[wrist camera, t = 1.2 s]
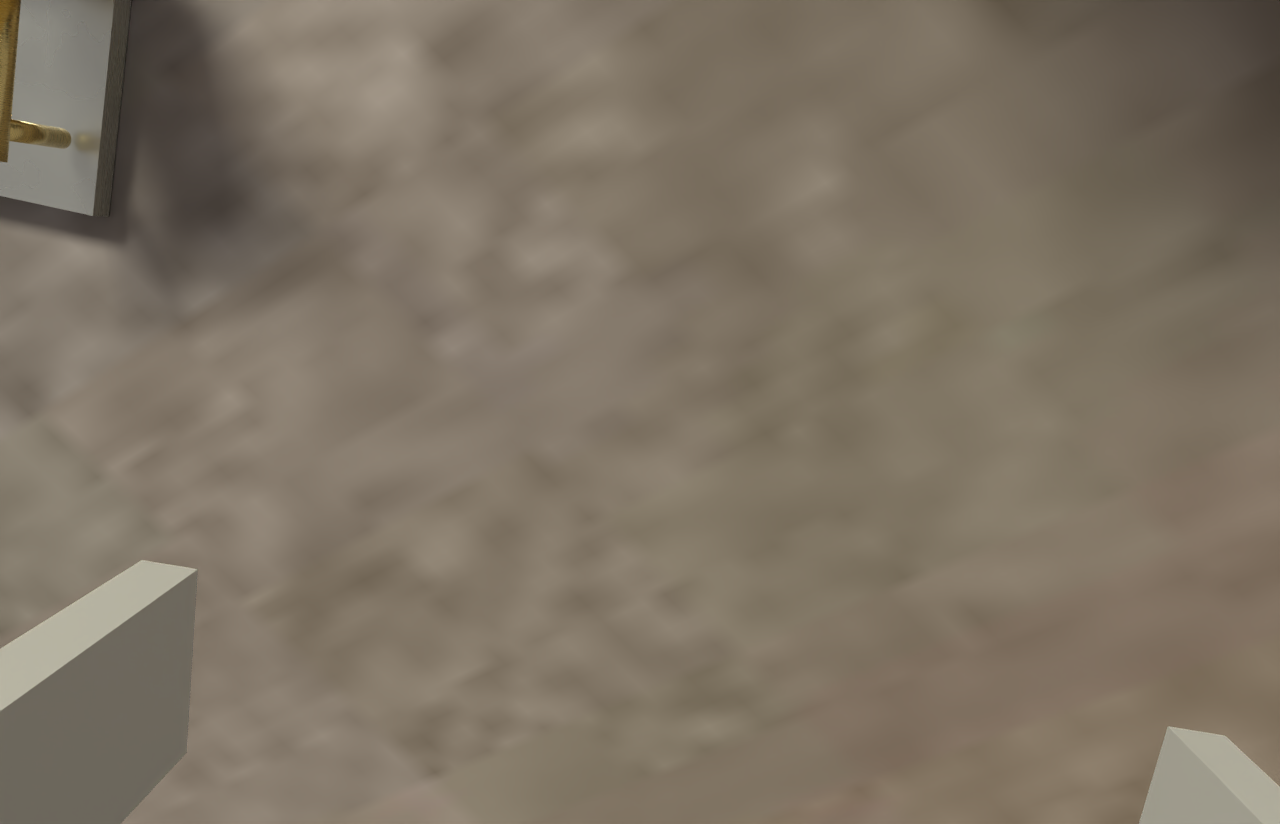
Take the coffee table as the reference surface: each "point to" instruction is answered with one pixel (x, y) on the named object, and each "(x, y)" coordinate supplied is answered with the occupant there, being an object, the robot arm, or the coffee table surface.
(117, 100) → the hole plate
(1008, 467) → the coffee table surface
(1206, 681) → the coffee table surface
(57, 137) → the slider leg
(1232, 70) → the coffee table surface
